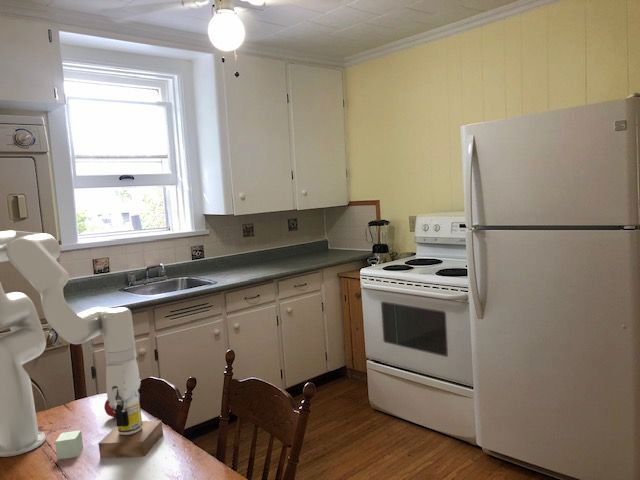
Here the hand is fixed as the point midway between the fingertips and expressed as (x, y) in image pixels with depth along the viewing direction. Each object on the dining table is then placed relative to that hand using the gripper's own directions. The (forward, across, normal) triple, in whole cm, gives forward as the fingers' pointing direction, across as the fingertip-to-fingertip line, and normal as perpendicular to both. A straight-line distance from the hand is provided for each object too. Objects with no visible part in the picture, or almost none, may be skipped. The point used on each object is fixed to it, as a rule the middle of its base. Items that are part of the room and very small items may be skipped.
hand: (128, 419), depth 138 cm
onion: (+8, -18, -14) cm, 24 cm away
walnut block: (+7, 0, 0) cm, 7 cm away
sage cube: (+8, +3, -16) cm, 18 cm away
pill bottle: (+3, 0, 0) cm, 3 cm away
